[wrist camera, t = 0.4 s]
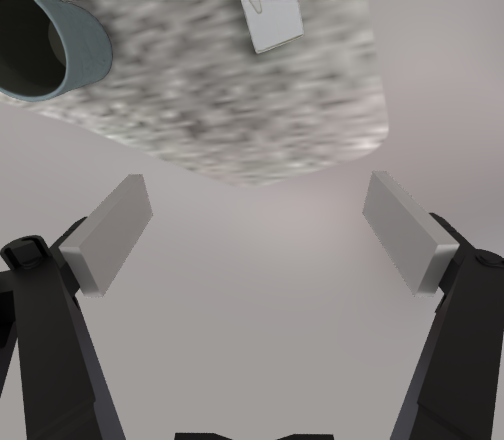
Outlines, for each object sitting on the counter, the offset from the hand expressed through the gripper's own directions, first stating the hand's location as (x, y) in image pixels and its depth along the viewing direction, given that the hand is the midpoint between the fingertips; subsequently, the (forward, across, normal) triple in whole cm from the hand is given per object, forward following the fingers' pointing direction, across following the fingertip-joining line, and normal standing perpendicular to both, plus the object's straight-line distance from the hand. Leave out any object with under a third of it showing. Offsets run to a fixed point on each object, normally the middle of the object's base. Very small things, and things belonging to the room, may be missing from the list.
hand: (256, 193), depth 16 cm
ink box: (+28, +1, +11) cm, 30 cm away
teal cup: (+28, -23, +8) cm, 37 cm away
